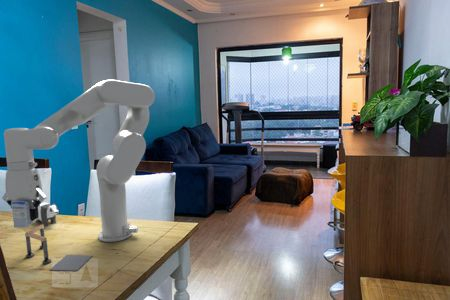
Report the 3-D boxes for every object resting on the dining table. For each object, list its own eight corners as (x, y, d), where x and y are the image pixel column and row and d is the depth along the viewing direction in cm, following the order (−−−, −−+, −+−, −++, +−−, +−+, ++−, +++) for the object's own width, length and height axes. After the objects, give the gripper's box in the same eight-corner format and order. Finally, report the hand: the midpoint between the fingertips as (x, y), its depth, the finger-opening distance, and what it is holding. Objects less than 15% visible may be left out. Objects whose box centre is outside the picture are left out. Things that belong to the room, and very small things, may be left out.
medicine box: (26, 219, 116) (23, 195, 115) (39, 219, 116) (37, 194, 115) (13, 228, 108) (10, 202, 107) (28, 227, 108) (25, 201, 107)
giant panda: (33, 222, 146) (30, 201, 144) (45, 219, 150) (43, 198, 149) (52, 229, 138) (50, 207, 137) (64, 225, 143) (62, 203, 141)
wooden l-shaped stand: (69, 246, 121) (68, 223, 120) (48, 264, 108) (45, 238, 106) (41, 246, 122) (38, 223, 120) (15, 263, 109) (13, 238, 107)
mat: (92, 256, 113) (92, 255, 113) (77, 271, 103) (77, 270, 103) (66, 255, 114) (66, 254, 114) (49, 270, 104) (49, 269, 104)
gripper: (52, 163, 112) (57, 215, 115) (4, 163, 114) (10, 215, 116) (38, 168, 105) (44, 223, 108) (-13, 168, 106) (-6, 222, 109)
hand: (26, 218), depth 112 cm, fingers closed on medicine box, 4 cm apart
